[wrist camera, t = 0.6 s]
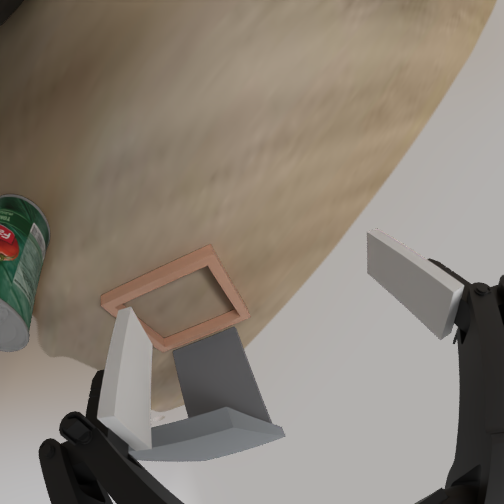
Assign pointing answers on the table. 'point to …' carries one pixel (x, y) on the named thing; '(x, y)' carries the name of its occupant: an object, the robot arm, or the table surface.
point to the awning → (213, 405)
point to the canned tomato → (19, 266)
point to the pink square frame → (167, 274)
